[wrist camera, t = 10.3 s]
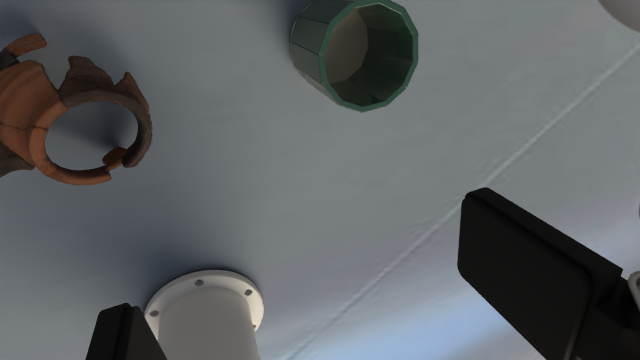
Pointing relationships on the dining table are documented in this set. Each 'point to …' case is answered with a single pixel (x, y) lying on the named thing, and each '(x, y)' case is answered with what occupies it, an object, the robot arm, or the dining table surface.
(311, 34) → the green mug
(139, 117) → the broken pottery
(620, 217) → the dining table surface
